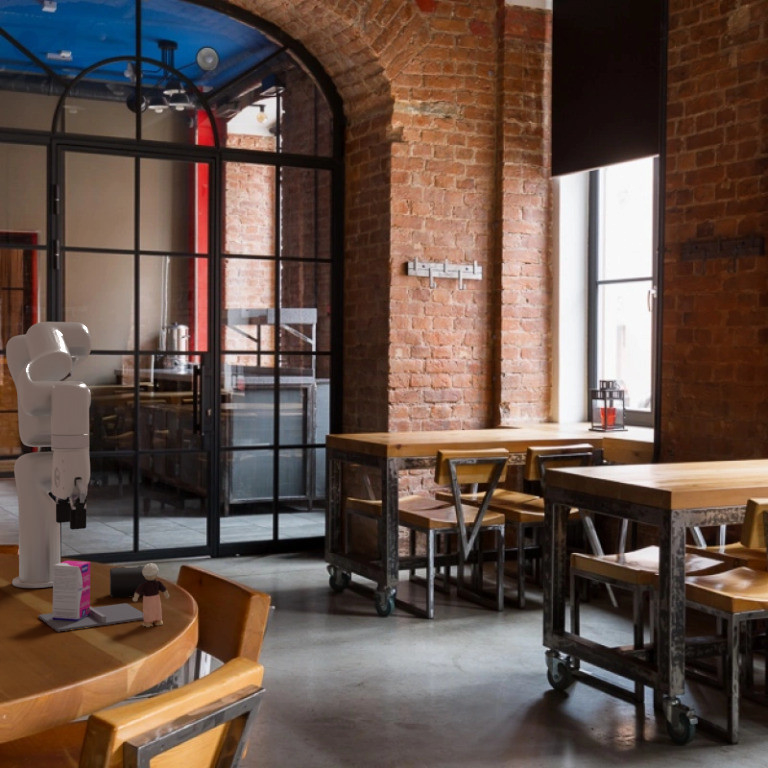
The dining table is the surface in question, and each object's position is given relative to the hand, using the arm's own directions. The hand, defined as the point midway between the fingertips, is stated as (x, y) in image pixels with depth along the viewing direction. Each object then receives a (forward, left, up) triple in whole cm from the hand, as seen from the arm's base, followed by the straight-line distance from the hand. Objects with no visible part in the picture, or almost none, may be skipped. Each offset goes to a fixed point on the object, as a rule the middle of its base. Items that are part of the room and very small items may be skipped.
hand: (70, 525), depth 220 cm
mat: (+1, +4, -20) cm, 20 cm away
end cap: (-15, +18, -20) cm, 31 cm away
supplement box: (0, 0, -20) cm, 20 cm away
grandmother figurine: (+12, +12, -20) cm, 27 cm away
